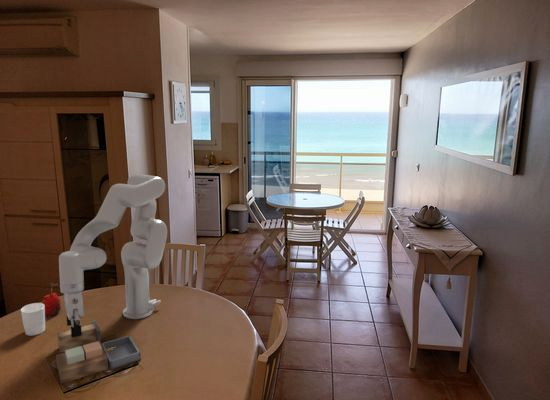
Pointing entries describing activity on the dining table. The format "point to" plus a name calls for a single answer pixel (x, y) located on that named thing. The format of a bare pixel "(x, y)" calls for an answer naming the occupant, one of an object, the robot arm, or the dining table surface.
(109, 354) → the tray
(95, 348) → the tile terracotta
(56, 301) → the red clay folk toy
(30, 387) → the dining table surface
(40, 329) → the white cup
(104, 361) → the wooden block
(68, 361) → the tile sage
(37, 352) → the dining table surface
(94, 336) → the scraper
